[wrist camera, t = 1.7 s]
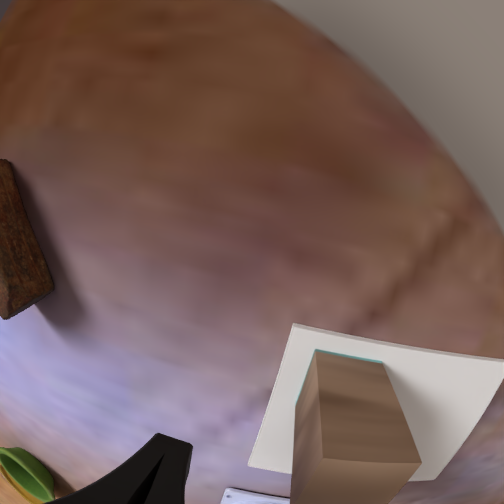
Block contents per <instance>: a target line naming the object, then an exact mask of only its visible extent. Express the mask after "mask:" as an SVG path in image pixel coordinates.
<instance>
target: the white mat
mask: <svg viewBox="0 0 504 504" xmlns="http://www.w3.org/2000/svg"><path fill="white" fill-rule="evenodd" d="M315 349H320V350H325V351H330V352H335V353H340V354H345V355H351V356H356V357H362V358H367V359H373V360H379V361H382V363H383V365H384V368H385V370H386V372H387V375H388V377H389V379H390V382H391V384H392V386H393V389H394V391H395V394H396V396H397V398H398V401H399V403H400V406H401V408H402V411H403V413H404V416H405V418H406V421H407V424H408V426H409V429H410V431H411V434H412V437H413V439H414V442H415V445H416V447H417V450H418V453H419V456H420V458H421V461H422V464H421V465H420V466H419V468H418V469H417V470H416V472H415V473H414V474H413V475H412V477H411V478H410V479H409V480H408V481H426V480H435V479H436V477H437V476H438V475H439V474H440V473H441V471H442V470H443V469H444V468H445V466H446V465H447V464H448V463H449V461H450V460H451V459H452V458H453V456H454V455H455V454H456V452H457V451H458V450H459V448H460V447H461V445H462V444H463V443H464V441H465V440H466V438H467V437H468V436H469V434H470V433H471V431H472V430H473V428H474V427H475V425H476V424H477V422H478V421H479V419H480V418H481V416H482V414H483V413H484V411H485V410H486V408H487V406H488V405H489V403H490V401H491V400H492V398H493V396H494V394H495V393H496V391H497V389H498V387H499V386H500V384H501V382H502V380H503V378H504V359H497V358H489V357H481V356H473V355H465V354H458V353H451V352H445V351H438V350H432V349H425V348H419V347H413V346H407V345H401V344H396V343H390V342H385V341H379V340H374V339H368V338H363V337H358V336H353V335H348V334H343V333H338V332H333V331H329V330H324V329H319V328H315V327H310V326H305V325H301V324H296V323H293V325H292V329H291V332H290V335H289V339H288V342H287V346H286V349H285V352H284V356H283V359H282V362H281V365H280V369H279V372H278V375H277V378H276V381H275V385H274V388H273V391H272V394H271V397H270V400H269V403H268V406H267V409H266V412H265V415H264V418H263V421H262V424H261V427H260V430H259V433H258V436H257V439H256V442H255V444H254V447H253V450H252V453H251V456H250V458H249V461H248V466H251V467H256V468H261V469H266V470H271V471H277V472H282V473H289V474H292V462H293V444H294V423H295V403H296V400H297V398H298V395H299V392H300V390H301V387H302V384H303V381H304V379H305V376H306V373H307V370H308V368H309V365H310V362H311V359H312V356H313V353H314V350H315Z"/></svg>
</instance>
